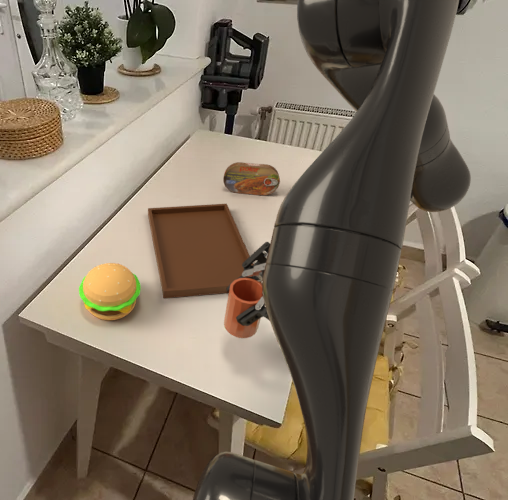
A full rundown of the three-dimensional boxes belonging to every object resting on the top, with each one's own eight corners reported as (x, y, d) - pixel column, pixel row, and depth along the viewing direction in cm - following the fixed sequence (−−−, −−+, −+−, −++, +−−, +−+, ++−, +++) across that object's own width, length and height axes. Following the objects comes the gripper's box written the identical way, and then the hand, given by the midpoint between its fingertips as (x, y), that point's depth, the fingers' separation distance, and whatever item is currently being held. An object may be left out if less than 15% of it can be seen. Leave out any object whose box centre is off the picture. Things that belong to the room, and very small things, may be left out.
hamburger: (144, 285, 91) (144, 254, 85) (136, 329, 82) (135, 298, 76) (88, 280, 92) (85, 249, 86) (74, 323, 83) (69, 292, 77)
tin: (221, 191, 119) (225, 164, 114) (222, 185, 122) (225, 159, 116) (276, 197, 118) (282, 170, 112) (276, 191, 120) (282, 164, 115)
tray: (260, 290, 90) (262, 283, 89) (163, 298, 88) (163, 291, 87) (225, 210, 113) (226, 203, 111) (147, 214, 110) (147, 208, 109)
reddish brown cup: (262, 336, 72) (271, 302, 67) (228, 339, 71) (235, 305, 66) (252, 311, 76) (260, 276, 71) (220, 313, 76) (225, 279, 70)
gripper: (291, 206, 68) (210, 267, 74) (330, 267, 57) (231, 332, 63) (314, 230, 72) (236, 286, 78) (355, 292, 61) (260, 351, 67)
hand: (234, 307), depth 71 cm, fingers closed on reddish brown cup, 6 cm apart
